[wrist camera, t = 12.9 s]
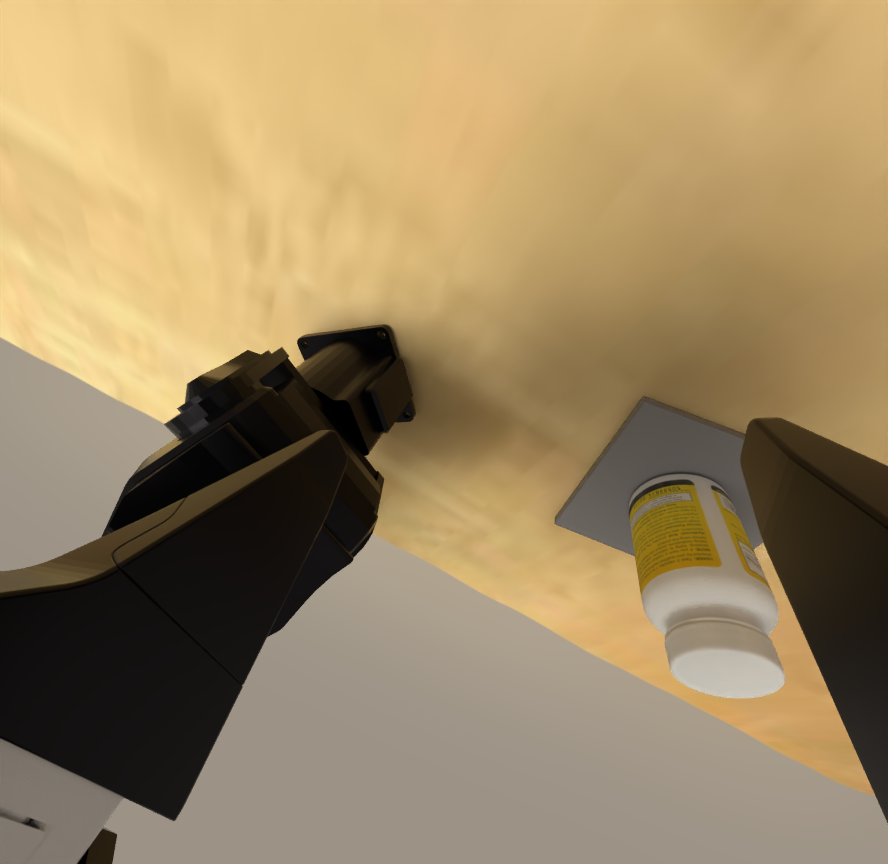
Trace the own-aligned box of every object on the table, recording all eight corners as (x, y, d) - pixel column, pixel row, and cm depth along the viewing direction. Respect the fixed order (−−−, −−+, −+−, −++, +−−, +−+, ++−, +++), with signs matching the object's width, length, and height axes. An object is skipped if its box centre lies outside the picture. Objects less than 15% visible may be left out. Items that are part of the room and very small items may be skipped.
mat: (554, 517, 27) (554, 524, 27) (643, 396, 21) (645, 402, 20) (702, 576, 27) (704, 583, 26) (844, 472, 20) (851, 479, 19)
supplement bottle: (613, 519, 25) (629, 677, 18) (651, 459, 22) (691, 621, 14) (698, 544, 25) (753, 720, 17) (751, 486, 21) (850, 673, 14)
